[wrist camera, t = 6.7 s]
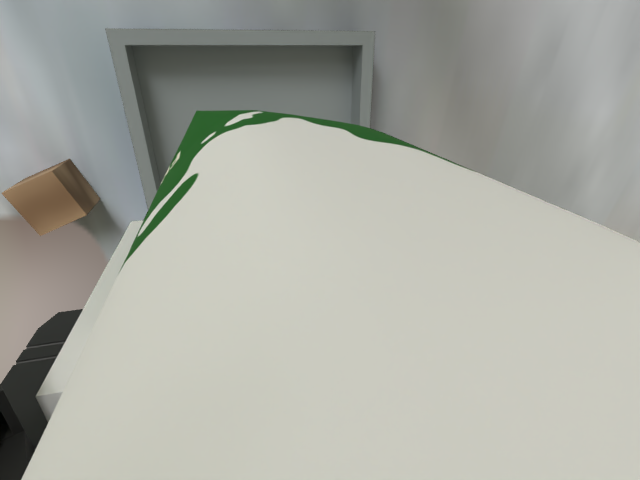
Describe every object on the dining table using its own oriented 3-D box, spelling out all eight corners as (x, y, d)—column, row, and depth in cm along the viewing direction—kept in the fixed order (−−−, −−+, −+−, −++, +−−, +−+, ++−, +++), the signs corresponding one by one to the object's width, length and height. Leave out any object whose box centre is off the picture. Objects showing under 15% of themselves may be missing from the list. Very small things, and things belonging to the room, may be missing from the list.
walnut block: (25, 178, 31) (1, 193, 27) (70, 158, 31) (51, 171, 27) (59, 217, 33) (40, 235, 29) (100, 198, 33) (86, 215, 29)
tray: (115, 31, 28) (105, 28, 25) (362, 33, 32) (374, 31, 29) (158, 222, 35) (154, 235, 32) (355, 202, 39) (365, 213, 37)
